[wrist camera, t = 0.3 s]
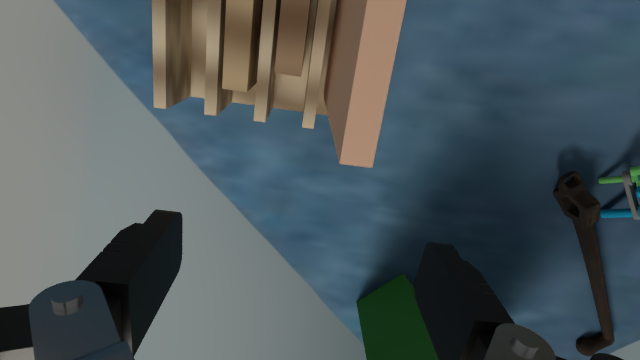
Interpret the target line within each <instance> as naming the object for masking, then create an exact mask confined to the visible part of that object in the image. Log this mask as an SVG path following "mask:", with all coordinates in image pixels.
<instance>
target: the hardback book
mask: <svg viewBox="0 0 640 360" xmlns="http://www.w3.org/2000/svg"><path fill="white" fill-rule="evenodd" d="M357 308H358V313H359V319H360V325H361V330H362V336H363V341H364V347H365V353H366V358H367V360H439V359H438V357H437V354H436V352H435V349H434V346H433V344H432V341H431V339H430V336H429V333H428V331H427V328H426V326H425V323H424V320H423V318H422V315H421V312H420V310H419V307H418V305H417V302H416V299H415V295H414V286H413V285H412V284H411V283H410V281H409V280H408V279H407V278H406V277H405V275H404V274H403V273H402V274H401V275H399V276H398V277H396V278H394V279H393V280H391V281H389V282H388V283H386V284H385V285H383V286H381V287H380V288H378V289H376V290H375V291H373V292H372V293H370V294H368V295H367V296H365V297H364V298H362V299H360V300H359V301H357Z"/></svg>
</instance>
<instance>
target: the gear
mask: <svg viewBox="0 0 640 360" xmlns="http://www.w3.org/2000/svg"><path fill="white" fill-rule="evenodd" d="M598 182H599V184H606V183H618V182H623V184H624V187H625V191H626V194H627V197H628V201H629V204H630V208H629V209H604V210H601V217H602V218H619V217H633V218H634V219H635V220H640V205H638V201H637V198H636V194H635V191H634V187H633V185H634V182H636V185H637V196H638V198H639V199H640V166H635V167H630V171H625V172H623V173H622V176H614V177H603V178H598Z"/></svg>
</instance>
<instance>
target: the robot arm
mask: <svg viewBox="0 0 640 360" xmlns="http://www.w3.org/2000/svg"><path fill="white" fill-rule="evenodd" d="M181 260H182V214H181V213H180V212H173V211H165V210H155V211H154V212H153V213H152V214H151V215H150V216H149V218H148V219H147V220H146V221H145V222H144V224H140V223H134V224H132V225H131V226H129V227H127V228H125V229H123V230H121V231H120V232H119V233H118V234H117V235H116V236H115V237H114V238H113V239H112V241H111V243H109V244H108V245H107V246H106V247H105V248H104V249H103V252H100V254H99V255H98V256H97V257H96V258H95V259H94V260H93V261H92V262H91V263H90V264H89V266H88V267H87V268H86V269H85V270H84V271H83V272H82V273H81V274H80V275H79V276H78V278H77V279H76V280H74V281H68V282H63V283H59V284H56V285H54V286H51V287H49V288H47V289H45V290H43V291H42V292H41V293H39V294H38V295H37V296H36V297H35V298H34V299H33V300H32V302H31V303H30V304H27V305H20V306H12V307H3V308H0V360H135V359H134V355H135V353H136V351H137V349H138V348H139V346H140V344H141V342H142V340H143V338H144V336H145V334H146V333H147V331H148V329H149V327H150V325H151V323H152V321H153V319H154V317H155V315H156V314H157V312H158V310H159V308H160V306H161V304H162V302H163V300H164V299H165V297H166V295H167V293H168V291H169V289H170V287H171V285H172V283H173V281H174V280H175V278H176V276H177V274H178V272H179V269H180V265H181ZM493 293H494V292H493V291H492V289H491V288H490V286H489V285H487V282H486V281H485V279H484V278H483V276H482V275H481V273H480V272H479V271H478V270H477V269H476V268H474V267H473V266H472V265H471V264H469V263H468V262H467V261H463V260H462V259H461V257H460V256H459V254H458V252H457V251H456V249H455V248H454V246H453V245H450V244H442V243H433V242H429V243H427V245H426V247H425V249H424V253H423V256H422V259H421V262H420V266H419V269H418V272H417V276H416V279H415V284H414V295H415V299H416V302H417V305H418V307H419V310H420V312H421V315H422V318H423V320H424V323H425V326H426V328H427V331H428V333H429V336H430V339H431V341H432V344H433V346H434V349H435V352H436V354H437V357H438V359H439V360H566V359H563V358H560V357H557V356H555V353H554V351H553V349H552V348H551V346H550V345H549V344H548V343H547V342H546V341H545V340H544V339H543V338H542V337H541V336H539V335H538V334H536V333H535V332H533V331H532V330H530V329H528V328H525V327H523V326H520V325H517V324H515V323H514V321H513V320H512V319H511V317H510V316H509V314H508V313H507V311H506V310H505V308H504V307H503V305H502V304H501V302H500V301H499V300H498V298H497V297H496V295H494V294H493ZM590 360H623V359H621V358H618V357H616V356H613V355H610V354H604V353H598V354H594V355H593V356H592V357H591V359H590Z"/></svg>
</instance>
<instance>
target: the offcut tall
mask: <svg viewBox="0 0 640 360" xmlns="http://www.w3.org/2000/svg"><path fill="white" fill-rule="evenodd" d="M310 4H311V0H281V8H280V19H279V29H278V40H277V50H276V61H275V71H274V73H277V74H284V75H291V76H298V77H301V74H302V69H303V62H304V54H305V45H306V37H307V29H308V21H309V12H310Z"/></svg>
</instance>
